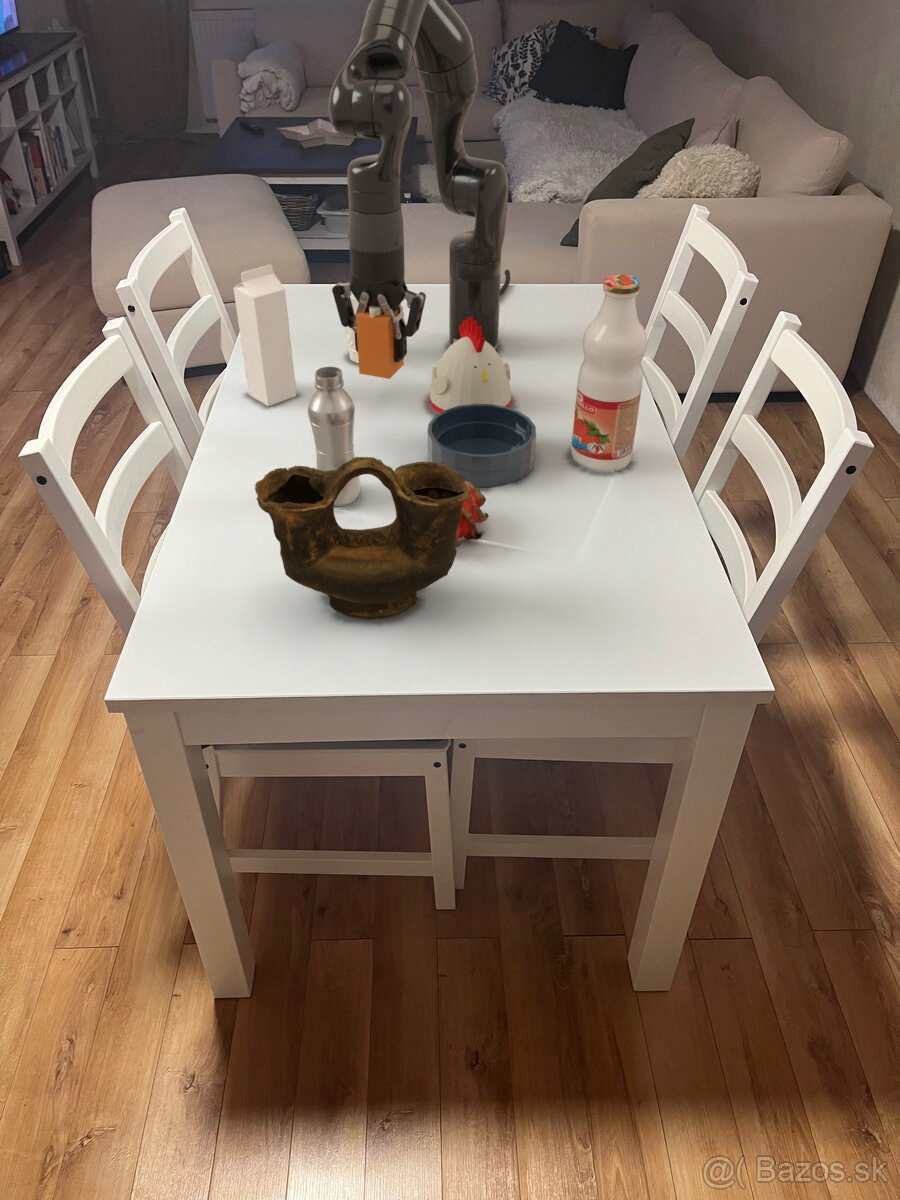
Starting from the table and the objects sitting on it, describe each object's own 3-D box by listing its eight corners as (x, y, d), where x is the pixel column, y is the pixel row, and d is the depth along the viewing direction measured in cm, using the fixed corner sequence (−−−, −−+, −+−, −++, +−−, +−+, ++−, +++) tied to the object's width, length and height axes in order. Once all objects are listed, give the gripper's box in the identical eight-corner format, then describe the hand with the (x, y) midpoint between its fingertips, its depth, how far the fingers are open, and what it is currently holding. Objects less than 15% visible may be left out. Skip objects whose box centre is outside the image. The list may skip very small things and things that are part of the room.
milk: (297, 396, 162) (284, 268, 148) (267, 407, 159) (251, 278, 145) (276, 384, 165) (262, 258, 151) (247, 394, 162) (230, 267, 148)
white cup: (397, 354, 175) (395, 302, 169) (372, 370, 170) (369, 316, 164) (363, 344, 178) (360, 293, 172) (337, 359, 173) (333, 307, 167)
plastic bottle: (368, 492, 138) (361, 365, 125) (350, 516, 133) (340, 387, 120) (328, 484, 140) (317, 358, 127) (309, 508, 135) (295, 379, 122)
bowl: (449, 430, 153) (449, 396, 149) (545, 448, 148) (548, 413, 144) (412, 479, 141) (411, 444, 137) (515, 500, 136) (517, 464, 133)
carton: (373, 359, 143) (371, 294, 137) (404, 364, 142) (402, 299, 136) (359, 373, 139) (355, 308, 133) (390, 379, 138) (387, 313, 132)
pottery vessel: (268, 631, 114) (247, 491, 101) (272, 576, 122) (253, 442, 110) (473, 618, 116) (477, 480, 103) (463, 565, 124) (465, 432, 112)
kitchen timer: (449, 430, 153) (449, 342, 143) (417, 394, 162) (415, 310, 153) (525, 413, 157) (530, 328, 148) (489, 380, 167) (491, 297, 157)
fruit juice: (639, 471, 143) (666, 290, 125) (579, 476, 142) (598, 295, 124) (620, 441, 150) (643, 266, 132) (563, 446, 149) (579, 270, 131)
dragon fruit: (471, 520, 135) (450, 578, 127) (423, 487, 133) (399, 544, 125) (505, 488, 129) (486, 547, 121) (456, 453, 127) (433, 511, 119)
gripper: (435, 238, 130) (435, 354, 140) (340, 226, 133) (348, 340, 144) (414, 256, 124) (416, 375, 135) (317, 243, 128) (326, 360, 139)
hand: (381, 356), depth 139 cm, fingers closed on carton, 5 cm apart
